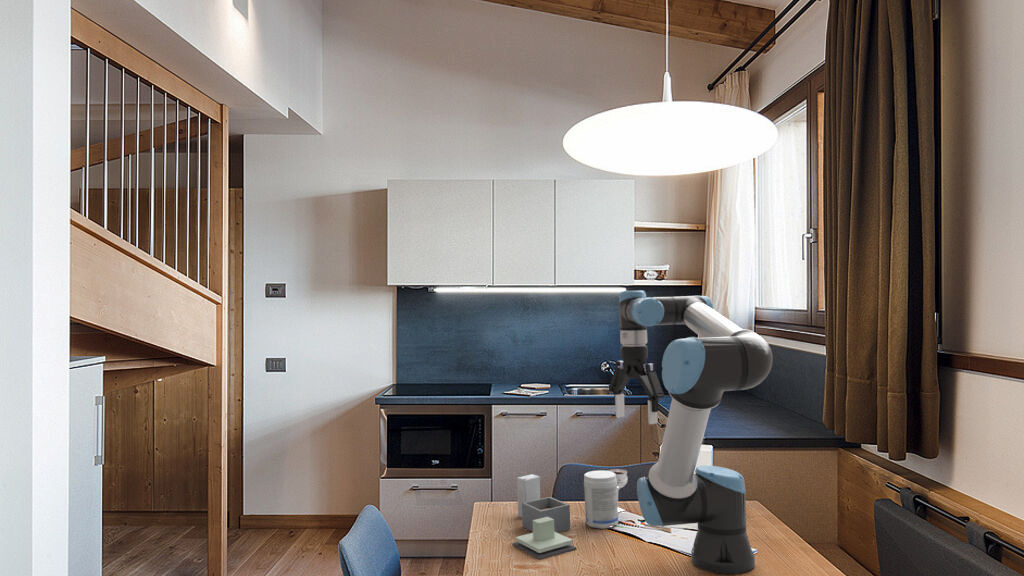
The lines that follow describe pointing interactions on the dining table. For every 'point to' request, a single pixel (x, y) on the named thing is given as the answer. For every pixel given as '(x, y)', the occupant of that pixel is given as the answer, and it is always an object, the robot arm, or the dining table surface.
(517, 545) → the mat
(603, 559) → the dining table surface
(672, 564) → the dining table surface
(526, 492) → the skincare box
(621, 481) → the wineglass
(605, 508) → the supplement tub
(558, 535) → the lid
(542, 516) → the storage box
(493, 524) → the dining table surface
